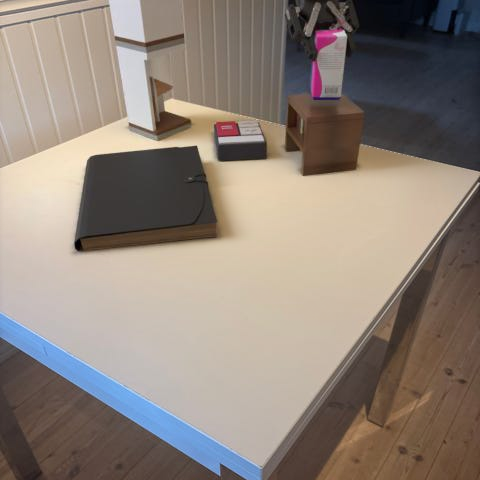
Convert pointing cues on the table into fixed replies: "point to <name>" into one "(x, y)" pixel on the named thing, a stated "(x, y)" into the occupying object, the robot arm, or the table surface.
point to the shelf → (324, 133)
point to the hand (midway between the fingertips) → (332, 56)
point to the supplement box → (328, 64)
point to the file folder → (144, 199)
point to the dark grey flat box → (239, 140)
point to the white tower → (148, 62)
